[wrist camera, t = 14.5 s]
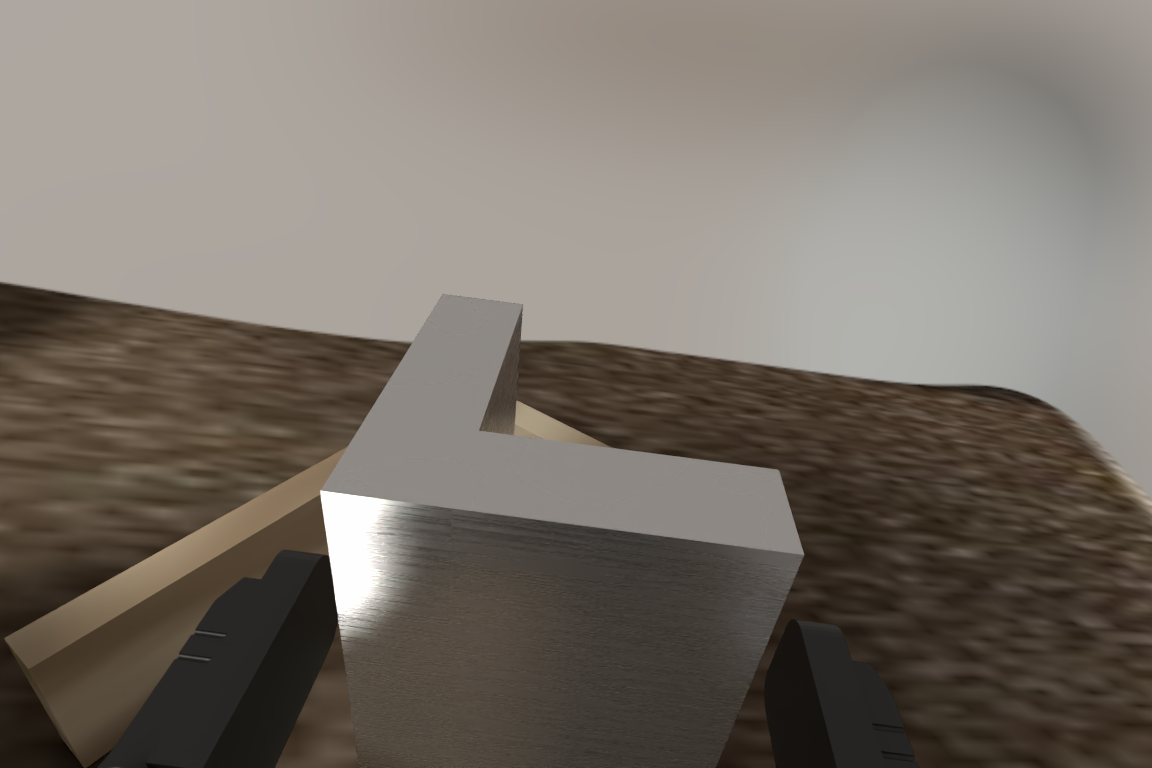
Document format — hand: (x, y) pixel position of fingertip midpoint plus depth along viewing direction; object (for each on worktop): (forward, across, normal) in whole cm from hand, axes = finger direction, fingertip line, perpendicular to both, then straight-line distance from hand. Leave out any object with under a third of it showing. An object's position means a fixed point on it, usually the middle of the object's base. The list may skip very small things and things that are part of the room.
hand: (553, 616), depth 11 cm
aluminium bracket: (+1, 0, +8) cm, 8 cm away
